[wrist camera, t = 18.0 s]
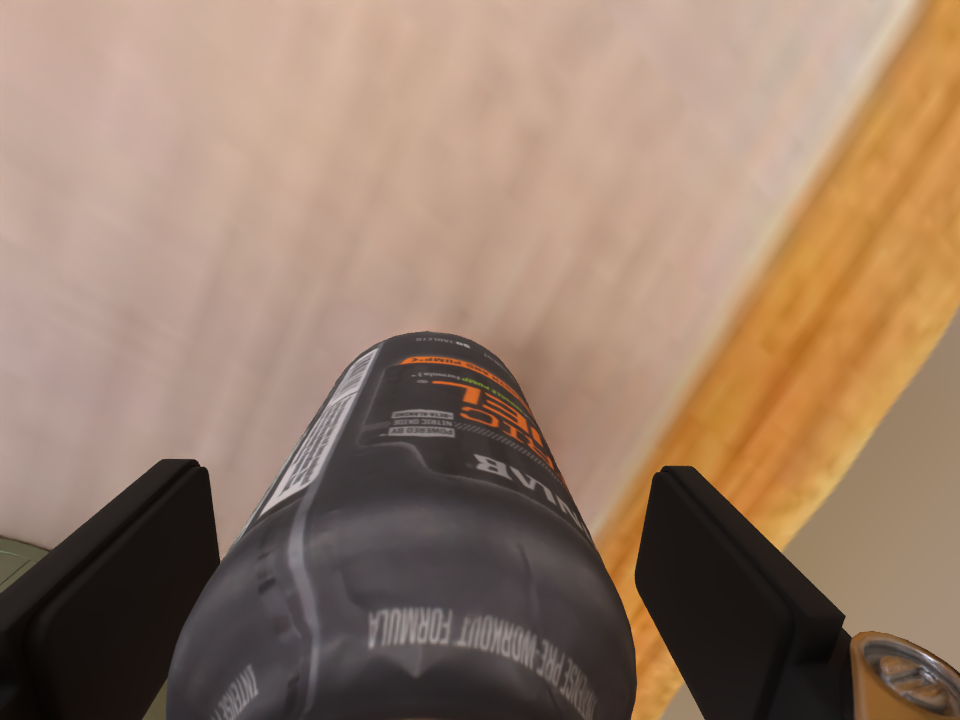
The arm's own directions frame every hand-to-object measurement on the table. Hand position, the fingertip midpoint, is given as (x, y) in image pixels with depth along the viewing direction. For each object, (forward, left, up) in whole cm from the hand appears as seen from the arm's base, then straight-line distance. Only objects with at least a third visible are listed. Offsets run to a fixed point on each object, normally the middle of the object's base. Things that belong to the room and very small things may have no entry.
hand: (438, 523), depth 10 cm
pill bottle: (0, 0, -5) cm, 5 cm away
